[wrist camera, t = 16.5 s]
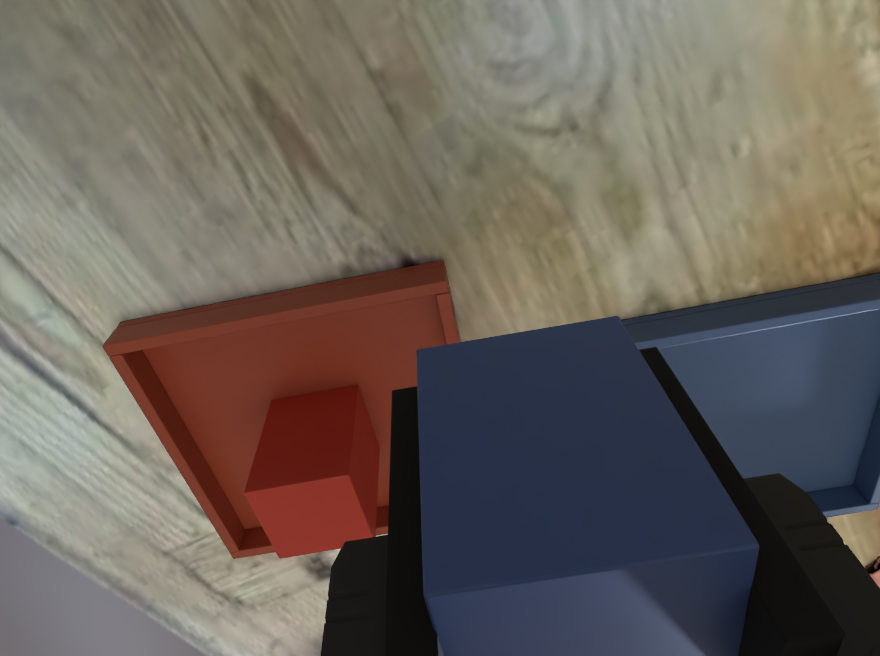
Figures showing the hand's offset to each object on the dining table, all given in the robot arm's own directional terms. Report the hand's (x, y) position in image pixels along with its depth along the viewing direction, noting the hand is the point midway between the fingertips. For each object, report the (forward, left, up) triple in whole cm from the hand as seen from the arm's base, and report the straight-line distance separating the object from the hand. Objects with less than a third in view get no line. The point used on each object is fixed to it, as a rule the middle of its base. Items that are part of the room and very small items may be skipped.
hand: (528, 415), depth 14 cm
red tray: (+10, -9, -13) cm, 19 cm away
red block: (+10, -9, -13) cm, 19 cm away
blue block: (0, 0, 0) cm, 0 cm away
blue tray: (+15, +13, -13) cm, 24 cm away
